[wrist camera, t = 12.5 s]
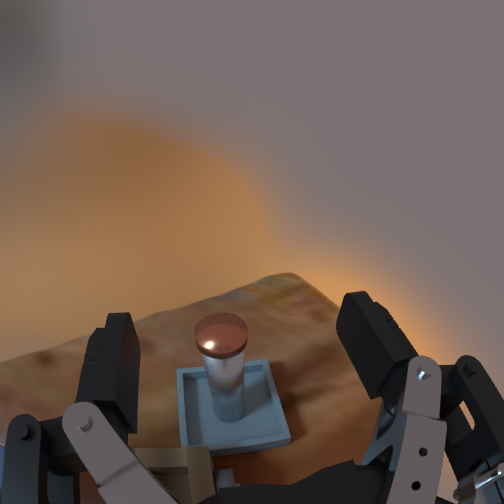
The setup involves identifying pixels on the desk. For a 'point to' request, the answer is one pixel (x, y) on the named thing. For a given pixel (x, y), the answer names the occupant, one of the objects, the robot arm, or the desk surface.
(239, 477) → the desk surface
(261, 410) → the tray
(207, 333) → the pin
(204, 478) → the block
